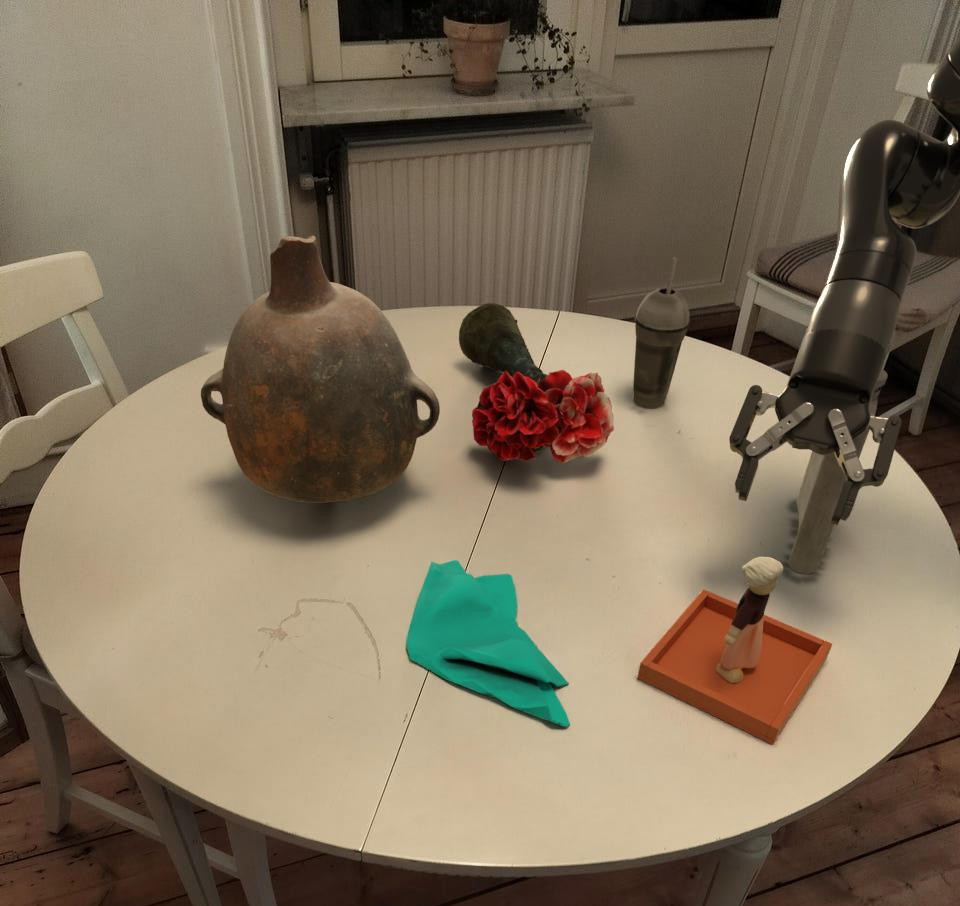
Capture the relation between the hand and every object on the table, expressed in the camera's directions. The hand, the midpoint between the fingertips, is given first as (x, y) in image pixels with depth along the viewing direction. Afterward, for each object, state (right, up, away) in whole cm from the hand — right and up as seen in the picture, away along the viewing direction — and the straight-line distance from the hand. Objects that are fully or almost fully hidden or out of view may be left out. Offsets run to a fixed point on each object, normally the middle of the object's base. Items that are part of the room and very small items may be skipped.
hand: (787, 510), depth 80 cm
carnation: (-24, +18, +38) cm, 48 cm away
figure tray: (-4, -15, +3) cm, 16 cm away
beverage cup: (-5, +22, +42) cm, 48 cm away
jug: (-47, +6, +24) cm, 53 cm away
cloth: (-29, -12, +5) cm, 32 cm away
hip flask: (+10, 0, +19) cm, 22 cm away
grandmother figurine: (-4, -14, +3) cm, 15 cm away
